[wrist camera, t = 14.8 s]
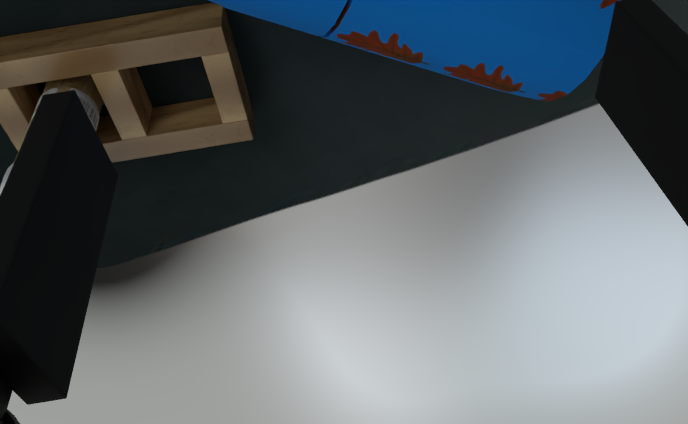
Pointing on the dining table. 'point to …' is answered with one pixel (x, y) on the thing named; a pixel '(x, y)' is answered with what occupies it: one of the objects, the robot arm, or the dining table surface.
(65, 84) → the spice jar
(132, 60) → the holder
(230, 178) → the dining table surface
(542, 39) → the thermos
